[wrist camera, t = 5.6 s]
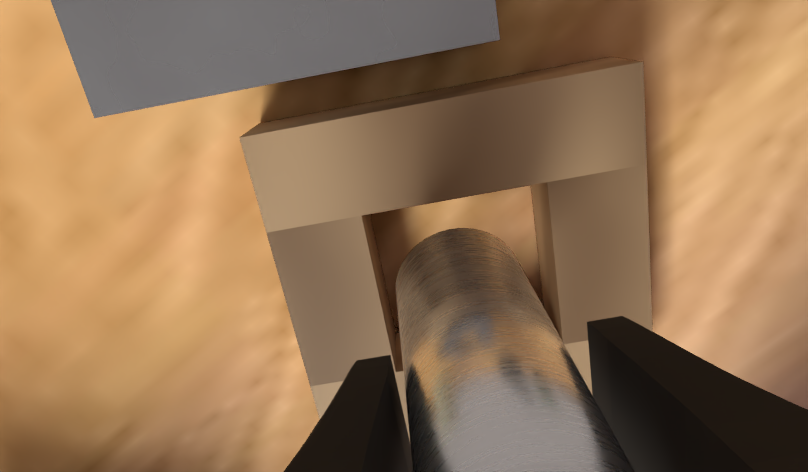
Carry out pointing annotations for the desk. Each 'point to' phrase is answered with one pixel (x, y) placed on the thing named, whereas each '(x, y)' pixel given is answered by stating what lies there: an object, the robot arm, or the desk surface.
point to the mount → (249, 42)
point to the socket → (450, 179)
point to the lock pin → (491, 367)
